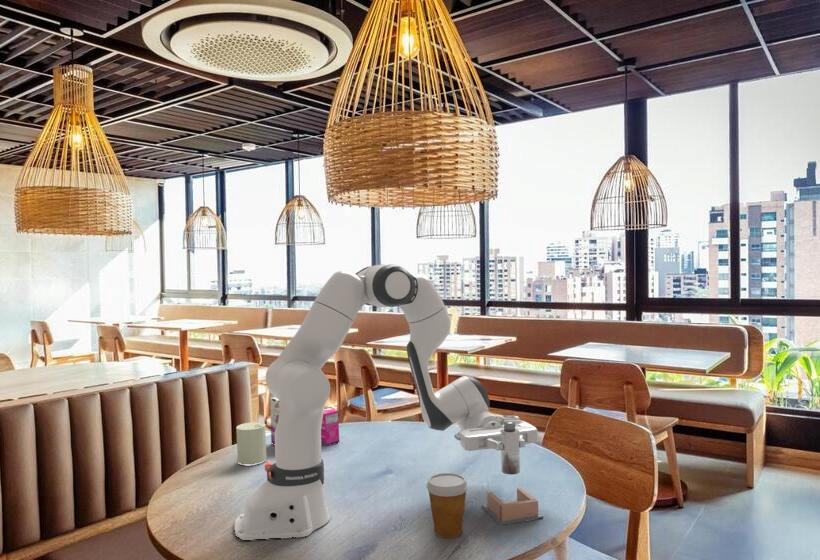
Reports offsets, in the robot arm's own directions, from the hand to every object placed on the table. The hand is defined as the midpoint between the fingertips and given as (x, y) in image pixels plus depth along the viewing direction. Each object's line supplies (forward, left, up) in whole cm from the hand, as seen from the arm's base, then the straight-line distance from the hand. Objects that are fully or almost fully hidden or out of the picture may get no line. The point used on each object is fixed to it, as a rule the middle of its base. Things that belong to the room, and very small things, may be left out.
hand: (511, 445), depth 138 cm
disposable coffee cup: (-18, -4, -17) cm, 25 cm away
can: (-61, +63, -17) cm, 89 cm away
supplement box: (-35, +74, -17) cm, 83 cm away
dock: (0, +1, -17) cm, 17 cm away
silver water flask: (0, +1, -6) cm, 7 cm away
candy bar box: (-50, +76, -17) cm, 92 cm away
